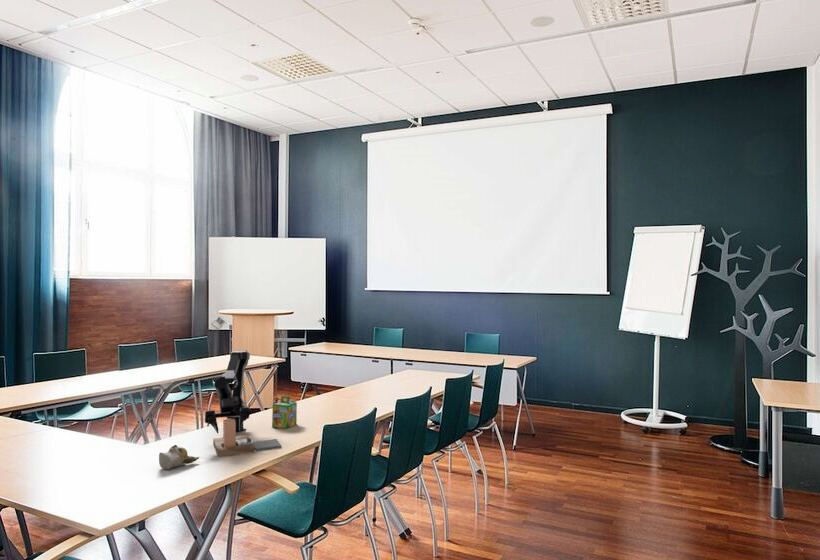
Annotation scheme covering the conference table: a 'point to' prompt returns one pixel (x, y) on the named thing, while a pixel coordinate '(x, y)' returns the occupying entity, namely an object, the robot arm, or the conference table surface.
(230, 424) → the terracotta block
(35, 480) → the conference table surface
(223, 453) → the walnut puzzle board
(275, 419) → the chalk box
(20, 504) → the conference table surface
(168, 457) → the ceramic sculpture
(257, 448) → the rubber pad
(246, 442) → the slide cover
